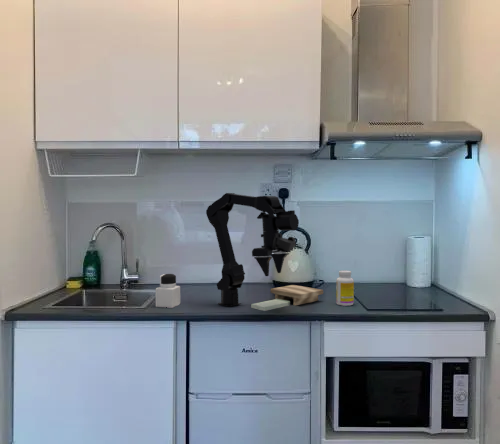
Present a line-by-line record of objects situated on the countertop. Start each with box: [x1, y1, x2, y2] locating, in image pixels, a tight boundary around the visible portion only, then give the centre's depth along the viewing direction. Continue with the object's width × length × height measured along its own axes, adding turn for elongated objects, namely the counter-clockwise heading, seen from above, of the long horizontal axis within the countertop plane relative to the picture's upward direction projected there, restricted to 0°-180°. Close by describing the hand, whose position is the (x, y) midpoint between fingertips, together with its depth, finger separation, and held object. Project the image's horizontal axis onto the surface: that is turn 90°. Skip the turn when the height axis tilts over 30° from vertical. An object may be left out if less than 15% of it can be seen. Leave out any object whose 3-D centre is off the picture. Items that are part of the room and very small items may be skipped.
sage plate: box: [250, 298, 291, 312], centre depth 183 cm, size 14×7×2 cm, turn 133°
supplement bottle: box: [335, 270, 355, 307], centre depth 187 cm, size 7×7×13 cm
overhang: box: [270, 284, 324, 306], centre depth 193 cm, size 14×16×5 cm
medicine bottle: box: [155, 273, 181, 309], centre depth 185 cm, size 7×7×12 cm
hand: (273, 274), depth 173 cm, fingers open, 9 cm apart
